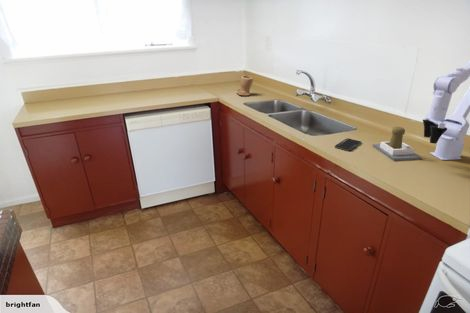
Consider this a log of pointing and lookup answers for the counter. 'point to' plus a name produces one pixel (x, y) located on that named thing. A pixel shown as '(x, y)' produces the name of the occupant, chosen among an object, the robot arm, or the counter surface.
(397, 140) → the cork
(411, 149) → the socket dock
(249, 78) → the stone cup
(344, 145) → the phone
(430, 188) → the counter surface
